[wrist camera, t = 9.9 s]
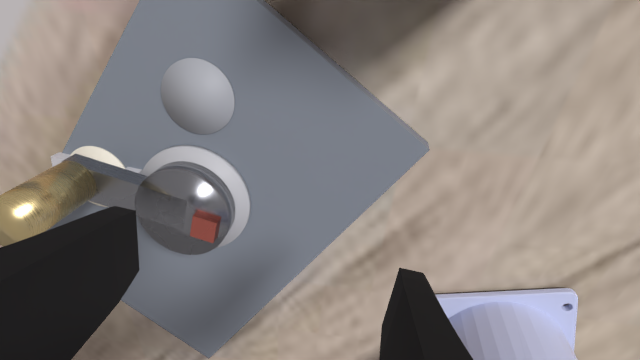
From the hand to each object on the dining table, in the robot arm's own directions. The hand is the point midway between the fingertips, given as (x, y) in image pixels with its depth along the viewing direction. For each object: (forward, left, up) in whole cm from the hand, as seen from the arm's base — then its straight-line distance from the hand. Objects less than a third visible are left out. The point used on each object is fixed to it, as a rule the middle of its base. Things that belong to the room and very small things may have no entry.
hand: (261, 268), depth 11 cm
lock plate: (-2, +7, -10) cm, 13 cm away
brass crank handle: (-1, +9, -9) cm, 12 cm away
